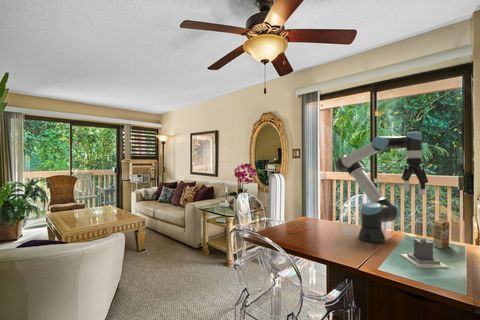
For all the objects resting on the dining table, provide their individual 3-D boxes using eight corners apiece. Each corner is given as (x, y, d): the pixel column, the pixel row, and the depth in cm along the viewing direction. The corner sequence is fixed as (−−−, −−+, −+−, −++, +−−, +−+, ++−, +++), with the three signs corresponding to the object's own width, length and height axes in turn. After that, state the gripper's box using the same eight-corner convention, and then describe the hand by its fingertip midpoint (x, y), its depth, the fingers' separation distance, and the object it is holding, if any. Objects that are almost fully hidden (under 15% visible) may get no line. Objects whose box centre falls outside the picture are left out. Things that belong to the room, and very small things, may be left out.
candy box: (441, 249, 135) (442, 223, 134) (433, 246, 139) (433, 221, 138) (449, 246, 138) (449, 221, 138) (441, 243, 142) (441, 219, 142)
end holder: (400, 255, 127) (400, 251, 127) (427, 255, 126) (427, 251, 126) (418, 267, 113) (418, 263, 113) (448, 268, 112) (448, 263, 112)
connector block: (413, 257, 122) (413, 236, 122) (425, 257, 122) (425, 236, 121) (420, 262, 117) (420, 239, 117) (433, 262, 117) (433, 239, 116)
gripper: (436, 157, 125) (436, 196, 126) (407, 157, 150) (407, 189, 151) (421, 158, 126) (421, 196, 127) (395, 157, 151) (395, 189, 151)
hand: (413, 192), depth 139 cm, fingers open, 13 cm apart
